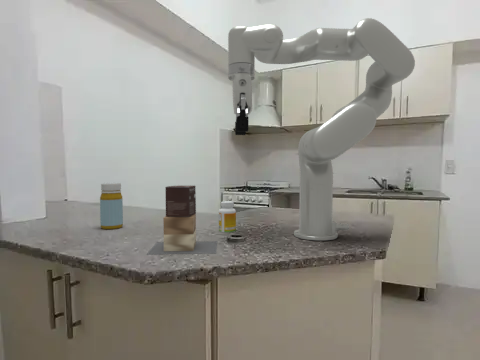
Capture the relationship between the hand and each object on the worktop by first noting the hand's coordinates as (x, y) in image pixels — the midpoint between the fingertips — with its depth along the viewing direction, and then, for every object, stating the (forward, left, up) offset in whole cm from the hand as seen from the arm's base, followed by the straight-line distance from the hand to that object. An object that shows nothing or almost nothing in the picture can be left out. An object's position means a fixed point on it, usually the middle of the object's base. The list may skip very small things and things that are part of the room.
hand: (241, 133), depth 92 cm
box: (+16, +13, -22) cm, 30 cm away
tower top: (+16, +13, -26) cm, 33 cm away
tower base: (+16, +13, -30) cm, 36 cm away
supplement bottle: (+4, -7, -31) cm, 32 cm away
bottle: (+43, -17, -31) cm, 55 cm away
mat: (+15, +13, -30) cm, 36 cm away
